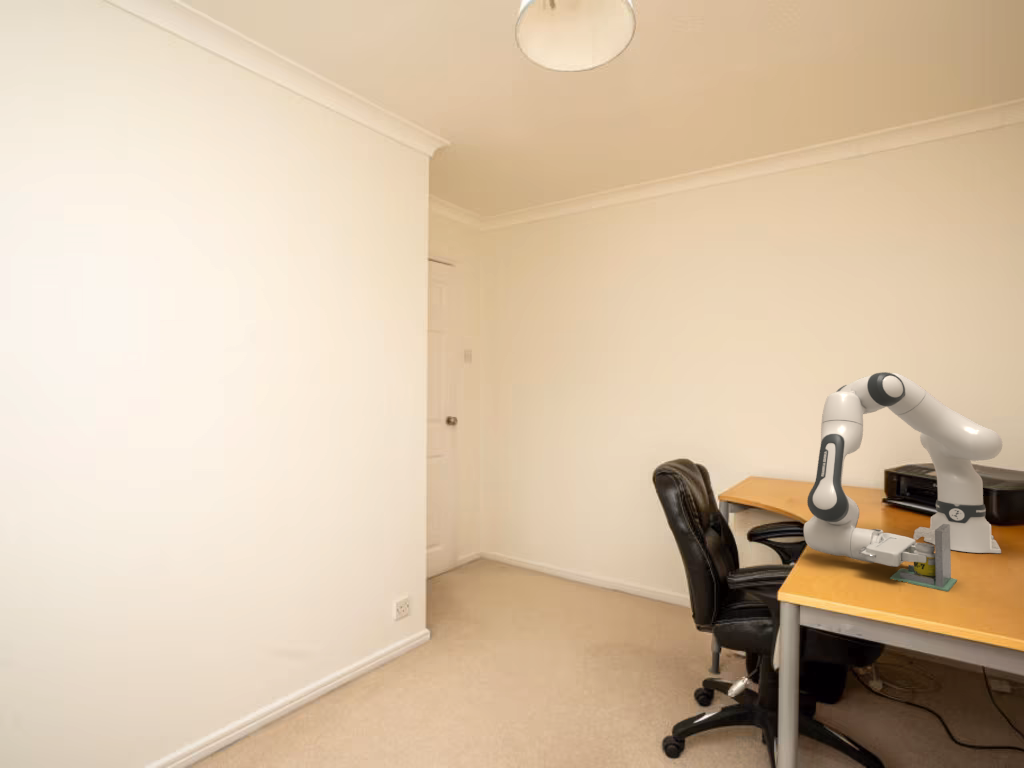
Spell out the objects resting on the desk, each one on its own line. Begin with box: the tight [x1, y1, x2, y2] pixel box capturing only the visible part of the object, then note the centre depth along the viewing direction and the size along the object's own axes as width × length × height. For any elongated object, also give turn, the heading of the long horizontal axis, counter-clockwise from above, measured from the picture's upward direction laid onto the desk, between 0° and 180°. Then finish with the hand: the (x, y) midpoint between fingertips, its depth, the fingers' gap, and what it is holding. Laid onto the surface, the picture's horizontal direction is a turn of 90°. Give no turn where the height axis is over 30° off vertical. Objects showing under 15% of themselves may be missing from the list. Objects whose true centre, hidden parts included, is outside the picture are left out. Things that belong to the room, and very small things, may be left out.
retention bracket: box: [900, 524, 952, 588], centre depth 139 cm, size 10×9×14 cm
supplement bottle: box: [913, 542, 936, 579], centre depth 139 cm, size 5×5×8 cm
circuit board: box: [889, 567, 958, 592], centre depth 140 cm, size 11×12×1 cm
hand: (929, 556), depth 139 cm, fingers open, 5 cm apart
